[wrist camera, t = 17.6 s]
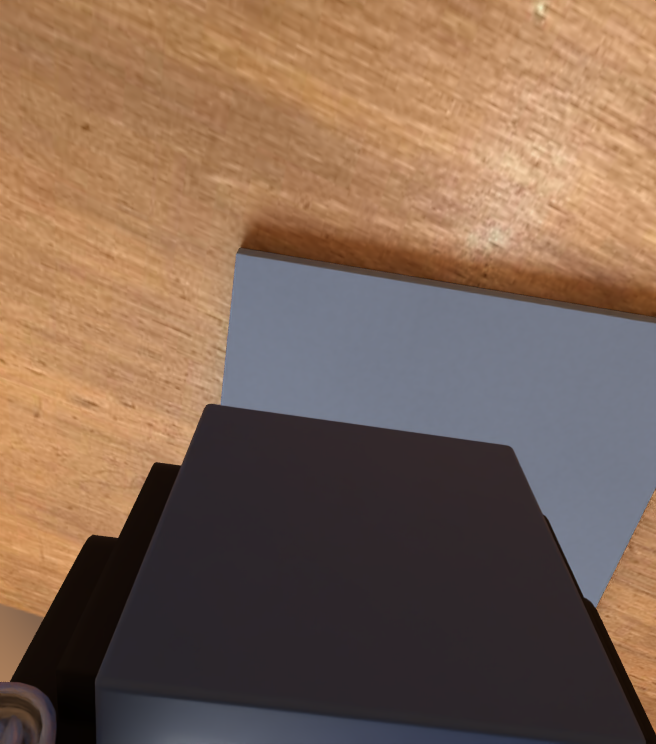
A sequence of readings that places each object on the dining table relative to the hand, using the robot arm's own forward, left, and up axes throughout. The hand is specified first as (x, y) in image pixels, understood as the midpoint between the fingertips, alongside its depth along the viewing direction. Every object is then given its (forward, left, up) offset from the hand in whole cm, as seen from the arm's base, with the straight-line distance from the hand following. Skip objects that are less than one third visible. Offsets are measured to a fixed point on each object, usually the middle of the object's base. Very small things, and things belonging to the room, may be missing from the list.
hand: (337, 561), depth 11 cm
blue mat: (+6, -9, -16) cm, 19 cm away
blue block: (0, 0, 0) cm, 0 cm away
